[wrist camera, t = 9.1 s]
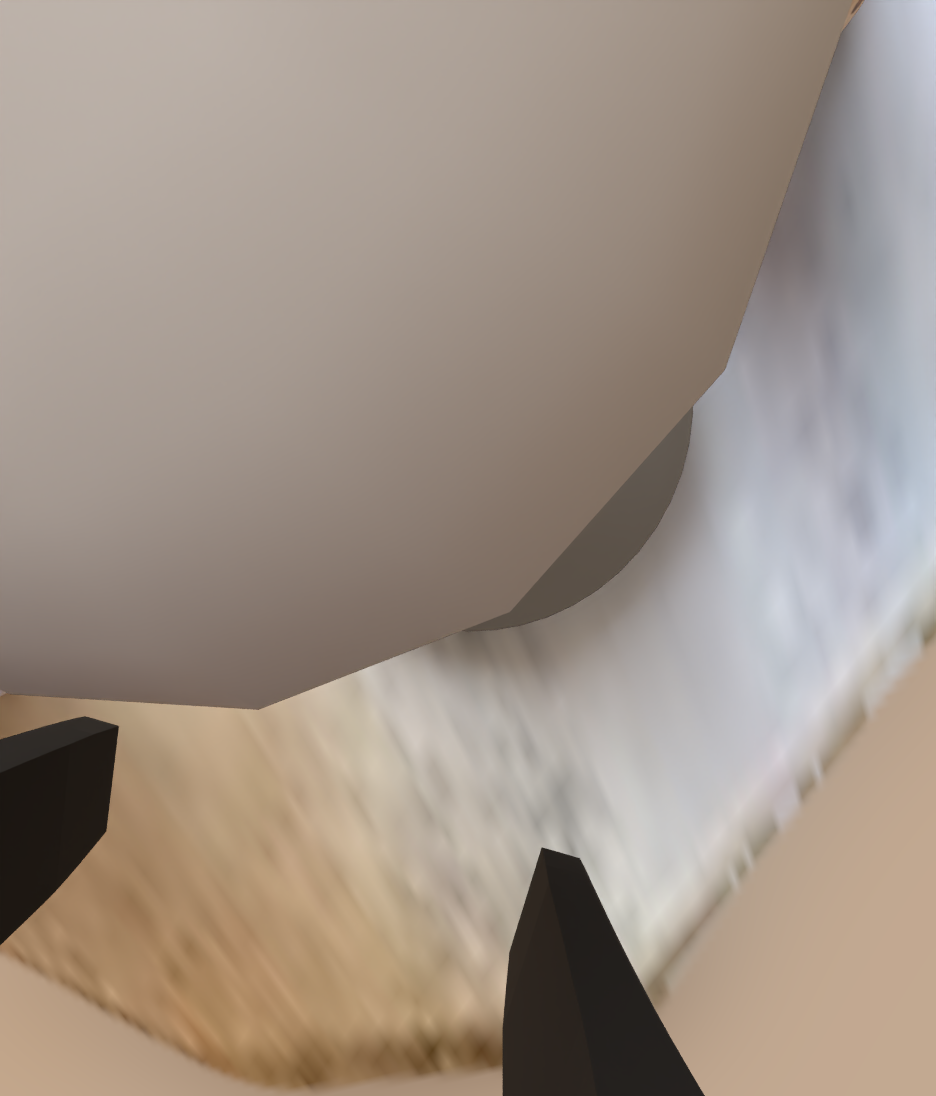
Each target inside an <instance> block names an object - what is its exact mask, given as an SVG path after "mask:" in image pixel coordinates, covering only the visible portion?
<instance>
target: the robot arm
mask: <svg viewBox="0 0 936 1096" xmlns="http://www.w3.org/2000/svg"><path fill="white" fill-rule="evenodd" d="M4 694H6V692H4V691H2V690H0V696H2V695H4ZM118 728H119V726H117V725H113V724H110V723H106V722H103V721H99V720H96V719H92V718H89V717H85V716H84V717H80V718H76V719H71V720H67V721H63V722H59V723H56V724H52V725H48V726H45V727H41V728H38V729H34V730H31V731H28V732H24V733H21V734H17V735H14V736H11V737H7V738H4V739H1V740H0V945H1V944H2V943H3V942H4V941H5V940H6V939H7V938H8V937H9V936H10V935H11V934H12V933H13V932H14V931H15V930H16V929H17V928H19V927H20V926H21V925H22V924H23V923H24V922H25V921H26V920H27V919H28V918H29V917H30V916H31V915H32V914H33V913H34V912H35V911H36V910H37V909H38V908H39V907H40V906H41V905H42V904H43V903H44V902H45V901H46V900H47V899H48V898H49V897H50V896H51V895H52V894H53V893H54V892H55V891H56V890H57V889H58V888H59V887H60V886H61V885H62V883H63V882H64V881H65V880H66V879H67V878H68V876H69V875H70V874H71V873H72V872H73V871H74V870H75V868H76V867H77V866H78V865H79V864H80V863H81V861H82V860H83V859H84V858H85V857H86V855H87V854H88V853H89V852H90V850H91V849H92V848H93V847H94V846H95V844H96V843H97V842H98V841H99V839H100V838H101V837H102V836H103V835H104V833H105V832H106V829H107V820H108V812H109V804H110V795H111V787H112V778H113V770H114V762H115V753H116V745H117V737H118ZM503 1096H705V1095H704V1094H703V1092H702V1091H701V1089H700V1087H699V1086H698V1084H697V1082H696V1081H695V1079H694V1077H693V1076H692V1074H691V1072H690V1070H689V1069H688V1067H687V1065H686V1063H685V1062H684V1060H683V1058H682V1057H681V1055H680V1053H679V1051H678V1050H677V1048H676V1046H675V1045H674V1043H673V1041H672V1039H671V1038H670V1036H669V1034H668V1032H667V1030H666V1029H665V1027H664V1025H663V1023H662V1021H661V1020H660V1018H659V1016H658V1014H657V1012H656V1010H655V1009H654V1007H653V1005H652V1003H651V1001H650V999H649V997H648V995H647V994H646V992H645V990H644V988H643V986H642V984H641V982H640V980H639V978H638V976H637V974H636V973H635V971H634V969H633V967H632V965H631V963H630V961H629V959H628V957H627V955H626V953H625V951H624V949H623V947H622V945H621V943H620V941H619V939H618V937H617V935H616V933H615V931H614V929H613V927H612V925H611V923H610V921H609V919H608V917H607V914H606V912H605V910H604V908H603V906H602V904H601V902H600V900H599V897H598V895H597V893H596V891H595V889H594V887H593V885H592V882H591V880H590V878H589V876H588V874H587V872H586V870H585V867H584V865H583V864H582V862H581V860H580V858H577V857H573V856H570V855H566V854H563V853H559V852H556V851H552V850H549V849H545V848H541V852H540V855H539V858H538V861H537V865H536V868H535V871H534V874H533V878H532V881H531V884H530V887H529V891H528V894H527V897H526V900H525V904H524V907H523V910H522V913H521V917H520V920H519V923H518V926H517V930H516V933H515V936H514V939H513V943H512V946H511V949H510V953H509V964H508V974H507V985H506V995H505V1007H504V1019H503Z"/></svg>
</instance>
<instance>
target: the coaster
mask: <svg viewBox="0 0 936 1096" xmlns="http://www.w3.org/2000/svg"><path fill="white" fill-rule="evenodd" d="M692 415H693V406H692V407H691V408H690V410H689V411H688V412H687V413H686V414H685V415H684V416H683V417H682V419H681V420H680V421H679V422H678V423H677V424H676V425H675V427H674V428H673V429H672V430H671V431H670V432H669V433H668V434H667V436H666V437H665V438H664V439H663V440H662V441H661V442H660V443H659V445H658V446H657V447H656V448H655V449H654V450H653V451H652V452H651V454H650V455H649V456H648V457H647V458H646V459H645V460H644V461H643V463H642V464H641V465H640V466H639V467H638V468H637V469H636V470H635V472H634V473H633V474H632V475H631V476H630V477H629V478H628V479H627V481H626V482H625V483H624V484H623V485H622V486H621V487H620V488H619V490H618V491H617V492H616V493H615V494H614V495H613V496H612V497H611V499H610V500H609V501H608V502H607V503H606V504H605V505H604V507H603V508H602V509H601V510H600V511H599V512H598V513H597V514H596V516H595V517H594V518H593V519H592V520H591V521H590V522H589V523H588V525H587V526H586V527H585V528H584V529H583V530H582V531H581V532H580V534H579V535H578V536H577V537H576V538H575V539H574V540H573V541H572V543H571V544H570V545H569V546H568V547H567V548H566V549H565V550H564V552H563V553H562V554H561V555H560V556H559V557H558V558H557V559H556V561H555V562H554V563H553V564H552V565H551V566H550V567H549V568H548V570H547V571H546V572H545V573H544V574H543V575H542V576H541V577H540V579H539V580H538V581H537V582H536V583H535V584H534V585H533V587H532V588H531V589H530V590H529V591H528V592H527V593H526V594H525V596H524V597H523V598H522V599H521V600H520V601H519V602H518V603H517V605H516V606H515V607H514V608H513V609H512V610H511V611H510V612H508V613H506V614H503V615H501V616H498V617H496V618H493V619H490V620H488V621H485V622H483V623H480V624H478V625H475V626H472V627H470V628H467V629H465V630H462V631H486V630H498V629H503V628H509V627H515V626H520V625H524V624H527V623H530V622H533V621H537V620H540V619H543V618H546V617H549V616H551V615H553V614H555V613H558V612H560V611H562V610H564V609H566V608H569V607H571V606H573V605H574V604H576V603H578V602H579V601H581V600H583V599H584V598H586V597H587V596H589V595H591V594H592V593H594V592H595V591H597V590H598V589H599V588H601V587H602V586H603V585H604V584H606V583H607V582H608V581H609V580H610V579H612V578H613V577H614V576H615V575H617V574H618V573H619V572H620V571H621V570H622V569H623V568H624V567H625V566H626V565H627V564H628V562H629V561H630V560H631V559H632V558H633V557H634V556H635V555H636V554H637V553H638V552H639V551H640V549H641V548H642V547H643V545H644V544H645V542H646V541H647V540H648V538H649V537H650V536H651V534H652V533H653V532H654V530H655V529H656V527H657V526H658V524H659V522H660V520H661V518H662V516H663V515H664V513H665V511H666V509H667V507H668V506H669V504H670V502H671V499H672V497H673V494H674V492H675V489H676V487H677V484H678V482H679V479H680V477H681V474H682V470H683V466H684V462H685V458H686V454H687V450H688V447H689V441H690V432H691V424H692Z"/></svg>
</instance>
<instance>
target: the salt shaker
mask: <svg viewBox="0 0 936 1096" xmlns="http://www.w3.org/2000/svg"><path fill="white" fill-rule="evenodd" d="M851 3H852V0H0V690H2V691H4V692H6V693H8V694H14V695H30V696H46V697H62V698H78V699H95V700H111V701H127V702H143V703H159V704H175V705H191V706H208V707H224V708H240V709H256V710H259V709H261V708H264V707H267V706H269V705H272V704H274V703H277V702H279V701H282V700H285V699H287V698H290V697H292V696H295V695H297V694H300V693H303V692H305V691H308V690H310V689H313V688H315V687H318V686H321V685H323V684H326V683H328V682H331V681H333V680H336V679H339V678H341V677H344V676H346V675H349V674H351V673H354V672H357V671H359V670H362V669H364V668H367V667H369V666H372V665H375V664H377V663H380V662H382V661H385V660H388V659H390V658H393V657H395V656H398V655H400V654H403V653H406V652H408V651H411V650H413V649H416V648H418V647H421V646H424V645H426V644H429V643H431V642H434V641H436V640H439V639H442V638H444V637H447V636H449V635H452V634H454V633H457V632H460V631H462V630H465V629H467V628H470V627H472V626H475V625H478V624H480V623H483V622H485V621H488V620H490V619H493V618H496V617H498V616H501V615H503V614H506V613H508V612H510V611H511V610H512V609H513V608H514V607H515V606H516V605H517V603H518V602H519V601H520V600H521V599H522V598H523V597H524V596H525V594H526V593H527V592H528V591H529V590H530V589H531V588H532V587H533V585H534V584H535V583H536V582H537V581H538V580H539V579H540V577H541V576H542V575H543V574H544V573H545V572H546V571H547V570H548V568H549V567H550V566H551V565H552V564H553V563H554V562H555V561H556V559H557V558H558V557H559V556H560V555H561V554H562V553H563V552H564V550H565V549H566V548H567V547H568V546H569V545H570V544H571V543H572V541H573V540H574V539H575V538H576V537H577V536H578V535H579V534H580V532H581V531H582V530H583V529H584V528H585V527H586V526H587V525H588V523H589V522H590V521H591V520H592V519H593V518H594V517H595V516H596V514H597V513H598V512H599V511H600V510H601V509H602V508H603V507H604V505H605V504H606V503H607V502H608V501H609V500H610V499H611V497H612V496H613V495H614V494H615V493H616V492H617V491H618V490H619V488H620V487H621V486H622V485H623V484H624V483H625V482H626V481H627V479H628V478H629V477H630V476H631V475H632V474H633V473H634V472H635V470H636V469H637V468H638V467H639V466H640V465H641V464H642V463H643V461H644V460H645V459H646V458H647V457H648V456H649V455H650V454H651V452H652V451H653V450H654V449H655V448H656V447H657V446H658V445H659V443H660V442H661V441H662V440H663V439H664V438H665V437H666V436H667V434H668V433H669V432H670V431H671V430H672V429H673V428H674V427H675V425H676V424H677V423H678V422H679V421H680V420H681V419H682V417H683V416H684V415H685V414H686V413H687V412H688V411H689V410H690V408H691V407H692V406H693V405H694V404H695V403H696V402H697V401H698V399H699V398H700V397H701V396H702V395H703V394H704V393H705V392H706V390H707V389H708V388H709V387H710V386H711V385H712V384H713V383H714V381H715V380H716V379H717V378H718V377H719V376H720V375H721V374H722V372H723V371H724V370H725V368H726V365H727V362H728V359H729V356H730V353H731V351H732V348H733V345H734V342H735V339H736V336H737V333H738V330H739V327H740V325H741V322H742V319H743V316H744V313H745V310H746V307H747V304H748V301H749V298H750V296H751V293H752V290H753V287H754V284H755V281H756V278H757V275H758V272H759V269H760V267H761V264H762V261H763V258H764V255H765V252H766V249H767V246H768V243H769V240H770V238H771V235H772V232H773V229H774V226H775V223H776V220H777V217H778V214H779V212H780V209H781V206H782V203H783V200H784V197H785V194H786V191H787V188H788V185H789V183H790V180H791V177H792V174H793V171H794V168H795V165H796V162H797V159H798V156H799V154H800V151H801V148H802V145H803V142H804V139H805V136H806V133H807V130H808V127H809V125H810V122H811V119H812V116H813V113H814V110H815V107H816V104H817V101H818V99H819V96H820V93H821V90H822V87H823V84H824V81H825V78H826V75H827V72H828V70H829V67H830V64H831V61H832V58H833V55H834V52H835V49H836V46H837V43H838V41H839V38H840V35H841V32H842V29H843V26H844V23H845V20H846V17H847V14H848V12H849V9H850V6H851Z"/></svg>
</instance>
